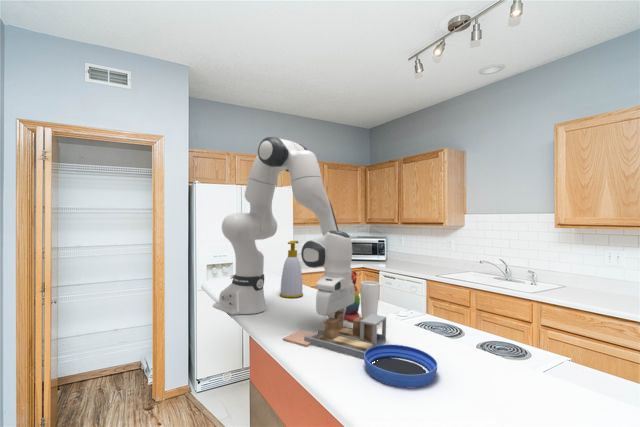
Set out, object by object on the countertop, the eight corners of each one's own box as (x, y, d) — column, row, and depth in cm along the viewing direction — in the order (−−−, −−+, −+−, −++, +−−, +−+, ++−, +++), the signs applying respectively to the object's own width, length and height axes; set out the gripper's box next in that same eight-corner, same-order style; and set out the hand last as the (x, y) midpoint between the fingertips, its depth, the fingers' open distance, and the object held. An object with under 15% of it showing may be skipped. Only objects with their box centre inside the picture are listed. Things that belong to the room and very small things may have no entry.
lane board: (304, 342, 100) (304, 317, 100) (330, 328, 114) (331, 306, 114) (364, 359, 90) (365, 331, 90) (385, 341, 103) (386, 316, 104)
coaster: (282, 340, 102) (282, 338, 102) (299, 331, 110) (299, 330, 110) (306, 346, 97) (306, 344, 97) (322, 337, 105) (322, 335, 105)
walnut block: (352, 334, 102) (353, 320, 102) (358, 330, 106) (359, 316, 106) (370, 339, 99) (370, 324, 99) (376, 334, 103) (376, 320, 103)
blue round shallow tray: (426, 399, 71) (426, 382, 72) (351, 375, 81) (352, 361, 81) (443, 367, 87) (444, 354, 87) (379, 351, 96) (379, 339, 96)
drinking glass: (378, 327, 116) (379, 285, 116) (358, 326, 117) (359, 283, 117) (378, 321, 122) (379, 281, 122) (360, 320, 124) (361, 280, 124)
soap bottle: (306, 294, 162) (308, 240, 162) (298, 299, 151) (299, 242, 151) (285, 291, 166) (287, 239, 166) (275, 297, 155) (277, 241, 155)
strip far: (325, 331, 108) (325, 312, 108) (331, 328, 111) (331, 309, 111) (370, 342, 99) (371, 322, 99) (375, 338, 103) (376, 318, 103)
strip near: (319, 340, 100) (319, 319, 100) (326, 336, 104) (326, 316, 104) (367, 353, 92) (368, 330, 92) (373, 348, 95) (374, 327, 95)
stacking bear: (329, 319, 124) (330, 271, 124) (337, 312, 133) (339, 268, 133) (356, 323, 120) (358, 274, 120) (363, 315, 129) (365, 270, 129)
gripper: (344, 275, 119) (342, 313, 118) (312, 284, 101) (311, 329, 101) (360, 277, 115) (358, 316, 115) (330, 287, 98) (329, 333, 98)
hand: (336, 322), depth 108 cm, fingers closed on strip far, 4 cm apart
